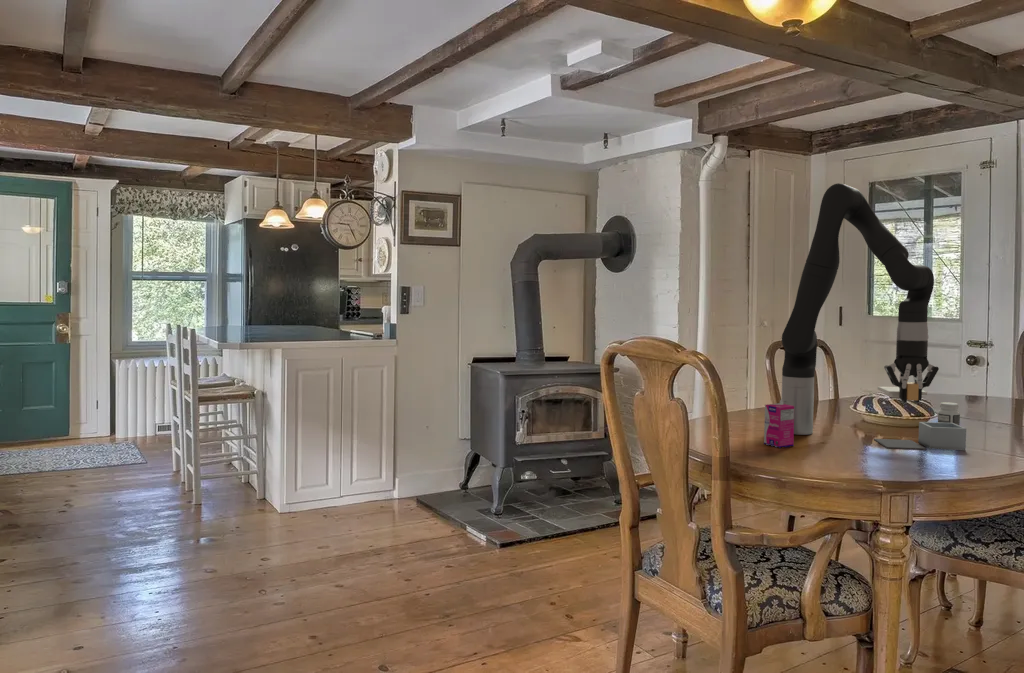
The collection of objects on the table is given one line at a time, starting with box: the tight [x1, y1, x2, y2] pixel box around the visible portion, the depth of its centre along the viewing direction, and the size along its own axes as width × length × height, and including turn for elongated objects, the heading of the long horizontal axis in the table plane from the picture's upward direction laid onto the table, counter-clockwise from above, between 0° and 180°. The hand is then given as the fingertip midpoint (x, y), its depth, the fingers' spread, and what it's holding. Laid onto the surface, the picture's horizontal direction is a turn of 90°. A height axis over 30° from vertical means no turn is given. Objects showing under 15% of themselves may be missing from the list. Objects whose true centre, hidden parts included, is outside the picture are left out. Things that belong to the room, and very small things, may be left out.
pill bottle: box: [937, 401, 961, 426], centre depth 230 cm, size 6×6×10 cm
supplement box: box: [763, 402, 795, 449], centre depth 214 cm, size 6×6×12 cm
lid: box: [877, 381, 928, 401], centre depth 214 cm, size 14×10×5 cm
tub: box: [917, 421, 967, 451], centre depth 215 cm, size 9×9×6 cm
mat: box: [873, 438, 927, 451], centre depth 217 cm, size 10×12×1 cm
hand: (910, 401), depth 209 cm, fingers closed on lid, 2 cm apart
